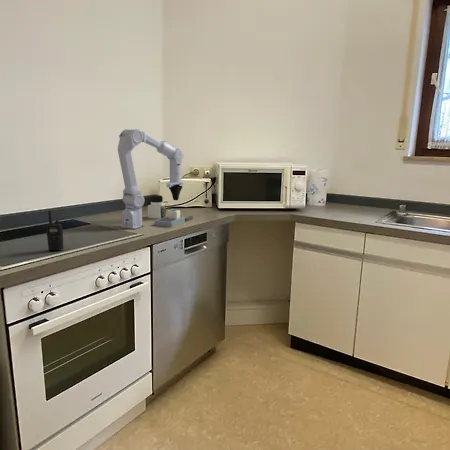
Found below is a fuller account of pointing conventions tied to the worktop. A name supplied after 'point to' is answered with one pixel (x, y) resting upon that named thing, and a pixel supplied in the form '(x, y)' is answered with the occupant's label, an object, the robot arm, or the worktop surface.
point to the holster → (188, 218)
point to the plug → (173, 214)
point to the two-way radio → (54, 234)
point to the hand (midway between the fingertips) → (175, 200)
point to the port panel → (169, 222)
